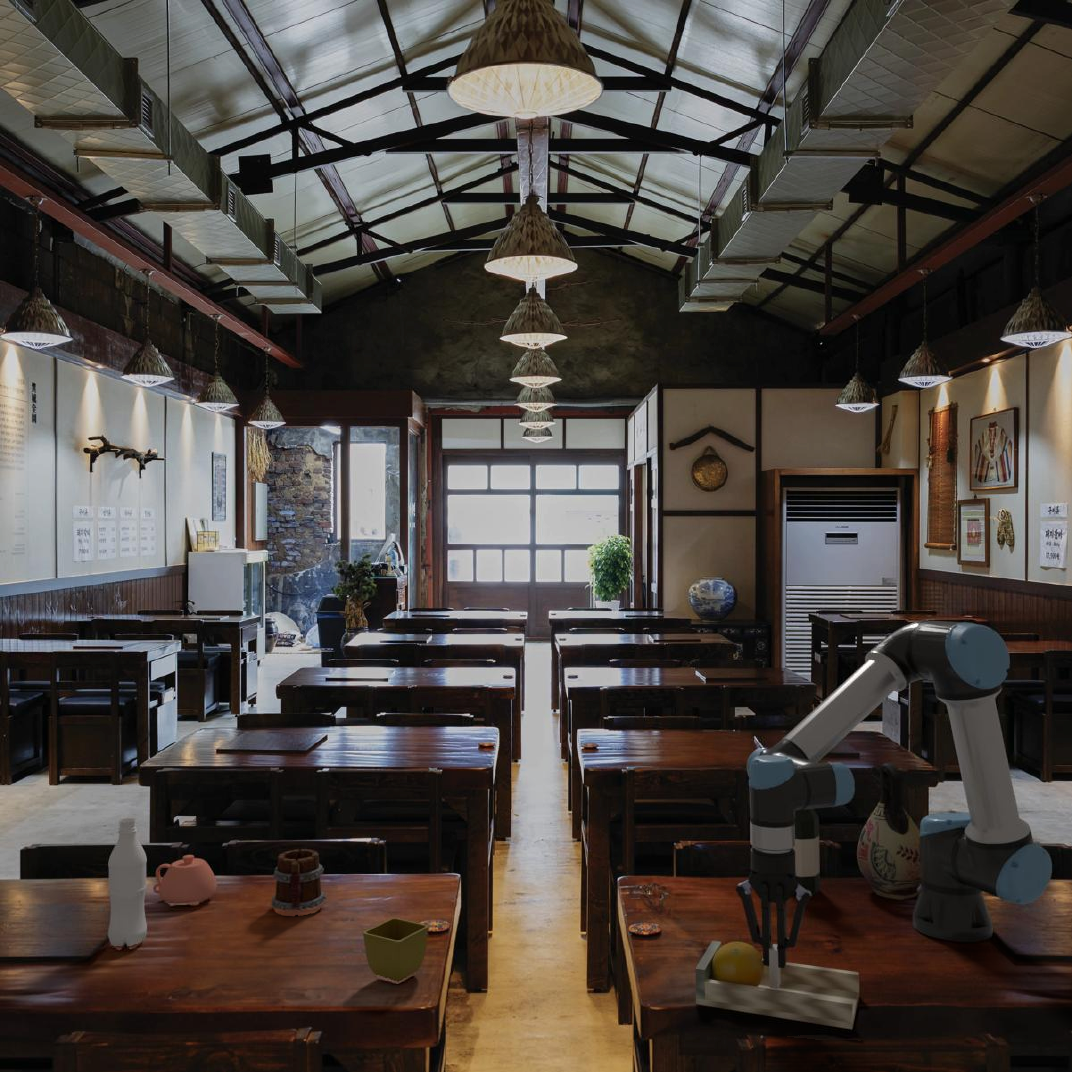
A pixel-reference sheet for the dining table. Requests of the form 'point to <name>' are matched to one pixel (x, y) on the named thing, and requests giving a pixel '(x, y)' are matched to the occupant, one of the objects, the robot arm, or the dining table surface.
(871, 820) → the ceramic jug
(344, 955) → the dining table surface
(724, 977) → the fruit
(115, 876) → the water bottle
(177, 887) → the sugar bowl
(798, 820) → the wine bottle
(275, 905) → the mug
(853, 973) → the channel
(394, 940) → the flower pot
